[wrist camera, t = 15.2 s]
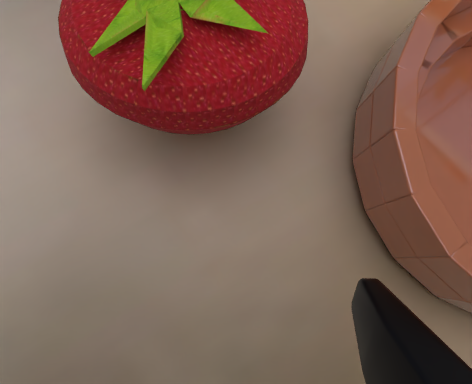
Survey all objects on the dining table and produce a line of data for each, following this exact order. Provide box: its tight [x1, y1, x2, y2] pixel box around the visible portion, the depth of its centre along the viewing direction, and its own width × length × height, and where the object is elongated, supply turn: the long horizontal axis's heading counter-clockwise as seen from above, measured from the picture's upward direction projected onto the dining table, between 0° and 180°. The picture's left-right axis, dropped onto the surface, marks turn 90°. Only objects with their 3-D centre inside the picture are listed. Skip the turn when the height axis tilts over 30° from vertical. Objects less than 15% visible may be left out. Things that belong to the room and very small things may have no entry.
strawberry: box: [58, 0, 308, 134], centre depth 13 cm, size 6×8×10 cm
